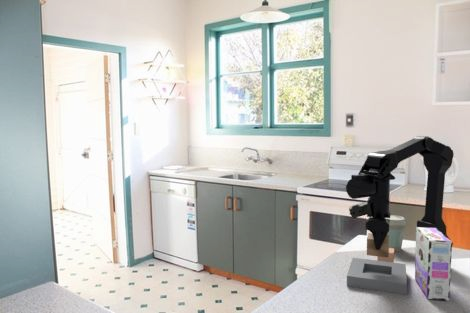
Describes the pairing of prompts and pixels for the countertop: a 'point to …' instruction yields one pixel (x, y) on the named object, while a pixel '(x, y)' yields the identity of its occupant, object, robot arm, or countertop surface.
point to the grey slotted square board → (377, 275)
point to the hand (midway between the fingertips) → (378, 246)
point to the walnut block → (372, 250)
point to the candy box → (433, 263)
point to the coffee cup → (396, 232)
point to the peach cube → (390, 257)
